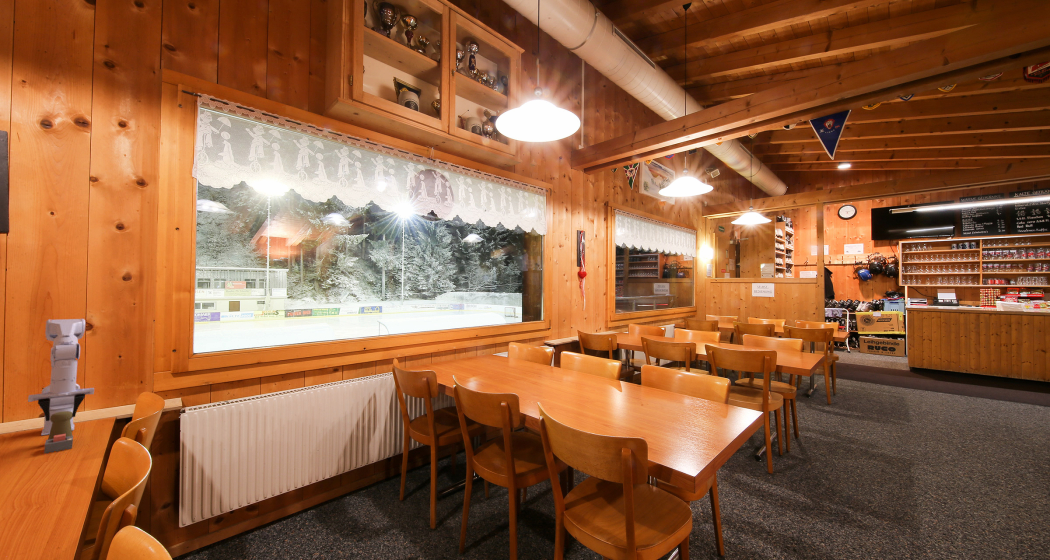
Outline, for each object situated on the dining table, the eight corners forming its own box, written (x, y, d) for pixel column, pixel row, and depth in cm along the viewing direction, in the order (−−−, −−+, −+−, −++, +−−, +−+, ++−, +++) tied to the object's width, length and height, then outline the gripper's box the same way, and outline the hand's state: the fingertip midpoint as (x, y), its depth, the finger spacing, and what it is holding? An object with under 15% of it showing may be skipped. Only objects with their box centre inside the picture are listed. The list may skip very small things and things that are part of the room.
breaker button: (53, 441, 131) (54, 435, 131) (65, 439, 133) (65, 433, 133) (53, 443, 129) (53, 437, 129) (65, 441, 131) (65, 435, 131)
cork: (77, 440, 139) (80, 409, 139) (56, 446, 133) (58, 414, 133) (63, 439, 140) (65, 409, 140) (41, 445, 134) (43, 414, 134)
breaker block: (45, 448, 131) (46, 439, 131) (72, 444, 135) (73, 434, 135) (44, 453, 127) (44, 443, 127) (72, 448, 131) (72, 439, 131)
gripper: (28, 384, 124) (25, 426, 123) (95, 377, 135) (92, 416, 134) (30, 381, 129) (27, 421, 128) (94, 374, 140) (92, 411, 139)
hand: (60, 418), depth 132 cm, fingers open, 5 cm apart
